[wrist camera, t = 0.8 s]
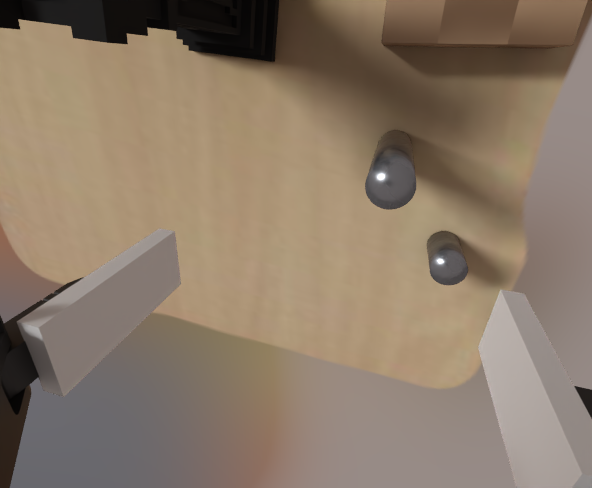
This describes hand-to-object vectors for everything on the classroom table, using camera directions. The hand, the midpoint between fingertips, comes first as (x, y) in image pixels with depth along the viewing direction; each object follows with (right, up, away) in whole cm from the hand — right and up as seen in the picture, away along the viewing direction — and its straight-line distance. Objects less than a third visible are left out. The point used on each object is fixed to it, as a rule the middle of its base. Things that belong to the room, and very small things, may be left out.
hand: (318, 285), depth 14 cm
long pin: (+8, +10, +17) cm, 22 cm away
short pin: (+14, +2, +20) cm, 24 cm away
